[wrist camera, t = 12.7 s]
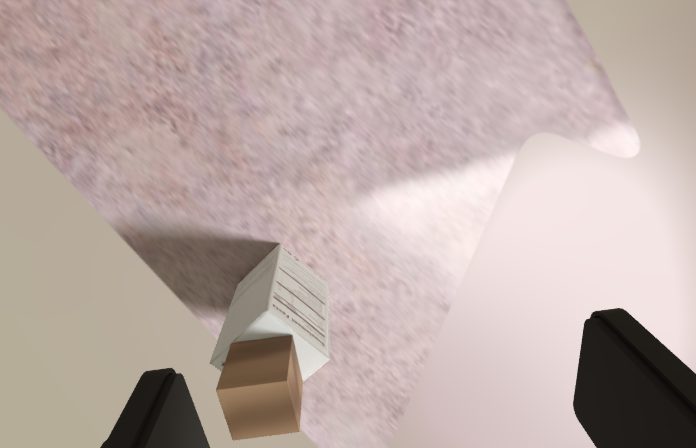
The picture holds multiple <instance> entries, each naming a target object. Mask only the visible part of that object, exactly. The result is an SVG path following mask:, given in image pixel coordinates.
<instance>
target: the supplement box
mask: <svg viewBox="0 0 696 448" xmlns="http://www.w3.org/2000/svg"><path fill="white" fill-rule="evenodd" d="M288 335H293V340H294V344H295V349H296V353H297V358H298V362H299V367H300V371H301V376H302V380H303V382H304V381H305V380H306V379H307V378H308V377H309V376H311V375H312V374H313V373H314V372H315V371H317V370H318V369H319V368H320V367H321V366H323V365H324V364H325V363H326V362H327V361H329V359H330V358H329V290H328V282H327V281H325V280H324V279H323V278H322V277H321V276H320V275H318V274H317V273H316V272H315V271H314V270H312V269H311V268H310V267H309V266H307V265H306V264H305V263H304V262H303V261H301V260H300V259H299V258H298V257H297V256H295V255H294V254H293V253H292V252H290V251H289V250H288V249H287V248H285V247H284V246H283V245H282V244H278V245H277V246H276V247H275V248H274V249H273V250H272V251H271V252H270V253H269V254H268V255H267V256H266V257H265V258H264V259H263V260H262V261H261V262H260V263H259V264H258V265H257V266H256V267H255V268H254V269H253V270H252V271H251V272H250V273H249V274H248V275H247V276H246V277H245V278H244V279H243V280H242V281H241V282H240V283H239V284H238V285H237V288H236V291H235V294H234V296H233V299H232V302H231V305H230V308H229V310H228V313H227V316H226V319H225V322H224V324H223V327H222V330H221V333H220V336H219V338H218V341H217V344H216V347H215V350H214V352H213V355H212V358H211V361H210V364H211V365H213V366H215V367H216V368H217V369H219V370H220V371H222V370H223V367H224V364H225V360H226V357H227V354H228V351H229V348H230V345H231V343H235V342H242V341H250V340H258V339H265V338H273V337H280V336H288Z"/></svg>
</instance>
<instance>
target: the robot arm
mask: <svg viewBox="0 0 696 448" xmlns="http://www.w3.org/2000/svg"><path fill="white" fill-rule="evenodd" d="M573 407H574V411H575V414H576V417H577V418H578V420H579V422H580V423H581V425H582V426H583V428H584V429H585V431H586V432H587V434H588V435H589V437H590V438H591V440H592V441H593V443H594V444H595V446H596V447H597V448H696V374H695V373H694V372H693V371H692V370H691V369H690V368H689V367H687V366H686V365H685V364H684V363H683V362H682V361H681V360H680V359H679V358H678V357H676V356H675V355H674V354H673V353H672V352H671V351H670V350H668V349H667V348H666V347H665V346H664V345H663V344H662V343H661V342H660V341H659V340H658V339H657V338H655V337H654V336H653V335H652V334H651V333H650V332H649V331H648V330H646V329H645V328H644V327H643V326H642V325H641V324H640V323H639V322H638V321H637V320H635V319H634V318H633V317H632V316H631V315H630V314H629V313H628V312H627V311H625V310H624V309H620V308H617V309H609V310H601V311H595V312H593V313H592V314H591V317H590V319H587V320H586V321H585V323H584V329H583V336H582V344H581V351H580V358H579V365H578V372H577V380H576V386H575V394H574V401H573ZM100 448H210V446H209V444H208V441H207V438H206V436H205V434H204V430H203V427H202V425H201V422H200V420H199V417H198V414H197V412H196V409H195V406H194V403H193V401H192V398H191V396H190V393H189V390H188V387H187V385H186V382H185V379H184V377H183V375H182V374H181V373H179V374H176V372H175V370H174V369H172V368H167V369H159V370H152V371H146V372H144V373H143V375H142V376H141V378H140V380H139V382H138V383H137V385H136V387H135V389H134V391H133V393H132V395H131V397H130V398H129V400H128V402H127V404H126V406H125V408H124V410H123V411H122V413H121V415H120V417H119V419H118V421H117V423H116V425H115V426H114V428H113V430H112V432H111V434H110V436H109V438H108V439H107V440H106V441H105V442H104V443H103V444H102V446H101V447H100Z"/></svg>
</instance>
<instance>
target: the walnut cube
mask: <svg viewBox="0 0 696 448" xmlns="http://www.w3.org/2000/svg"><path fill="white" fill-rule="evenodd" d="M302 387H303V380H302V376H301V371H300V367H299V362H298V358H297V353H296V349H295V344H294V340H293V335H288V336H280V337H273V338H265V339H258V340H250V341H242V342H235V343H231V345H230V348H229V351H228V354H227V357H226V360H225V364H224V367H223V370H222V373H221V376H220V379H219V382H218V386H217V389H216V392H217V395H218V397H219V401H220V404H221V406H222V410H223V413H224V415H225V419H226V422H227V425H228V428H229V431H230V433H231V437H232V440H240V439H248V438H256V437H264V436H271V435H278V434H287V433H293V432H299V429H300V415H301V401H302Z"/></svg>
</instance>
